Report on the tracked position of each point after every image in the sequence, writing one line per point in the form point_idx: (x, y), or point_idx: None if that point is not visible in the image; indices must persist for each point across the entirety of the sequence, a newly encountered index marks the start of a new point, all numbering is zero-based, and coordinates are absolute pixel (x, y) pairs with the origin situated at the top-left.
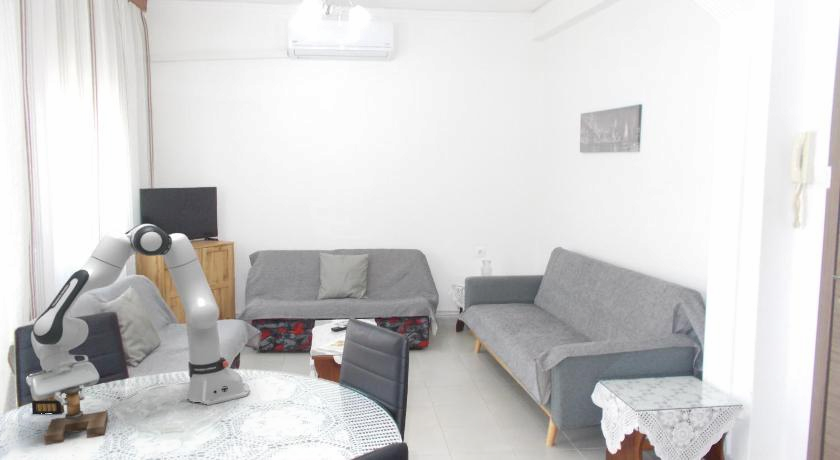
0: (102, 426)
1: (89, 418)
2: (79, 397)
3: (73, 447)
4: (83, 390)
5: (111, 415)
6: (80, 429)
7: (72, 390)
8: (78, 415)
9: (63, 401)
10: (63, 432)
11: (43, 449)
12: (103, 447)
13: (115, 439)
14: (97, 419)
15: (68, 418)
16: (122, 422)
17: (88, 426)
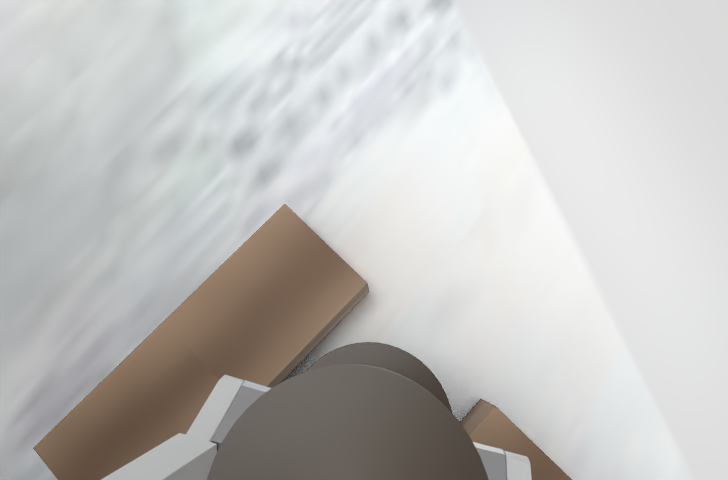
0: (289, 209)
1: None
2: None
3: (503, 251)
4: (146, 456)
5: (18, 470)
6: None
7: (374, 460)
8: (378, 344)
9: (523, 476)
10: None
11: (616, 424)
12: (424, 81)
13: (319, 105)
14: (202, 363)
15: (449, 405)
16: (103, 277)
17: (326, 313)
